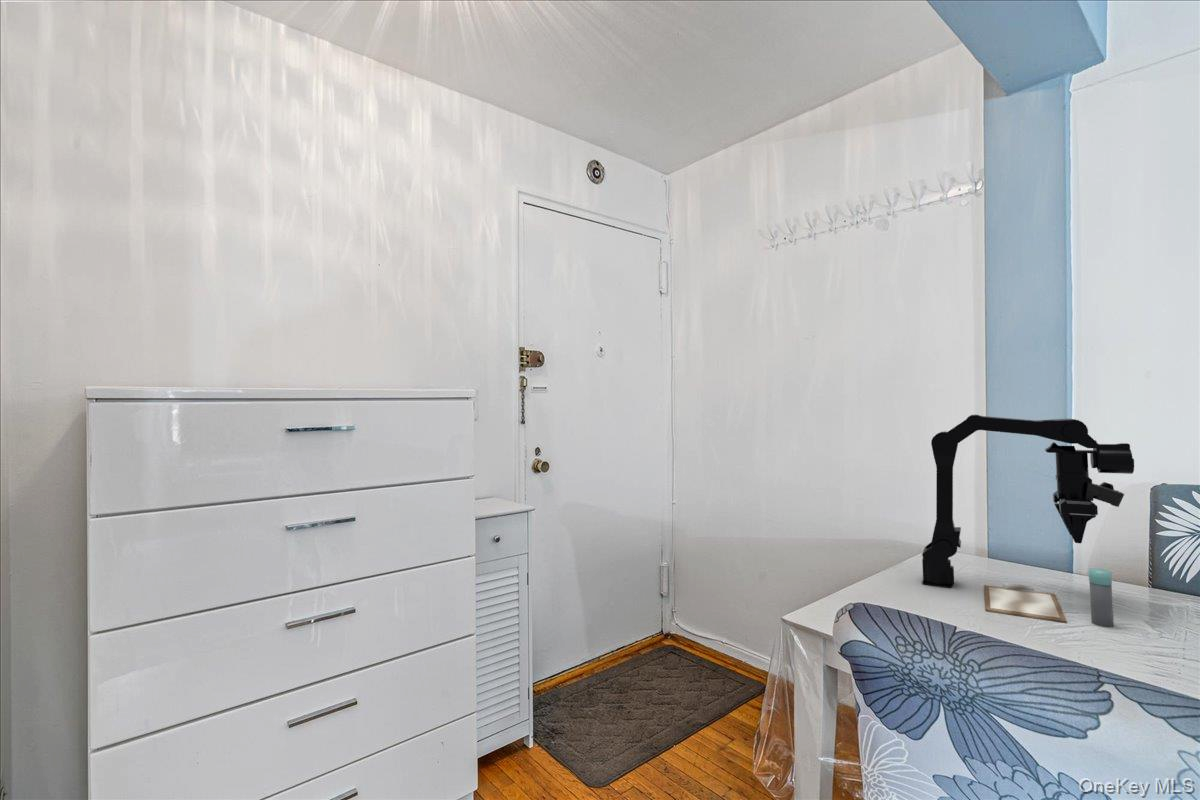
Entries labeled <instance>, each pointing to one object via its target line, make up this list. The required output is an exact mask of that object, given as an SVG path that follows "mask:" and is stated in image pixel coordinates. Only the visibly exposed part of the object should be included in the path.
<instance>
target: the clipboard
mask: <svg viewBox="0 0 1200 800" xmlns="http://www.w3.org/2000/svg"><path fill="white" fill-rule="evenodd" d="M1002 586H1003V587H1002ZM1002 586H997V585H996V586H995V585H987V584H985V585H983V594H984V609H985V610H984V611H985V612H989V613H996V614H1002V615H1010V616H1016V617H1024V618H1031V619H1036V620H1037V619H1038V620H1043V621H1044V620H1045V621H1050V622H1057V623H1064V624H1067V623H1068V620H1067V618H1066V616H1065V614H1064V612H1063V609H1062V607H1061V605H1060V602H1059V600H1058V597H1057V596H1056V594H1055V593H1051V592H1044V591H1042V592H1041V591H1036V590H1035V587H1034V586H1031V585H1023V584H1016V583H1015V584H1014V583H1008V582H1003V583H1002Z"/></svg>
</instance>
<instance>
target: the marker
mask: <svg viewBox="0 0 1200 800" xmlns="http://www.w3.org/2000/svg"><path fill="white" fill-rule="evenodd" d="M1087 570H1088V581H1089V597H1090V598H1089V600H1090V618H1091V624H1094V625H1096V626H1099V627H1104V628H1105V627H1106V628H1113V627H1114V625H1115V624H1114V604H1113V587H1112V585H1113V583H1112V582H1113V581H1112V579H1113V578H1112V571H1110V570H1108V569H1104V568H1103V569H1102V568H1096V567H1095V568H1094V567H1093V568H1088V569H1087Z"/></svg>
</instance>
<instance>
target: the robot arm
mask: <svg viewBox="0 0 1200 800" xmlns="http://www.w3.org/2000/svg"><path fill="white" fill-rule="evenodd" d="M977 431H988V432H996V433H997V432H998V433H1009V434H1018V435H1028V436H1037V437H1041V438H1045V439H1049V440H1053V441H1057V442H1060V443H1061V442H1062V443H1065V444H1073V445H1058V444H1057V443H1056V442H1052V443H1051V444H1050V445H1049V446H1048V447H1047V448H1045V449H1044V451H1045V452H1046V453H1049V454H1050V453H1052V454H1053V453H1054V454H1055V470H1056V474H1055V480H1056V488H1057V489H1056V491H1055V492H1054V493H1052V502H1053V503H1054V506H1055V508H1056V511H1057V512H1058V514H1059V516H1060V518H1061V520H1062V522H1063V523H1064V525H1065V528H1066V530H1067V532H1068V533H1069V535H1070V536H1071V537H1072V539H1073V542H1074V543H1075V544H1082V543H1083V538H1084V535H1085V530H1086V527H1087V523H1088V522H1089V521H1091V520H1093V519H1095V518H1096V517H1097V516H1098V515H1099V512H1098V509H1099V508H1098V505H1097V504H1095V503H1094V499H1095V500H1097V501H1102V502H1103V503H1106V504H1110V505H1111V506H1114V507H1116V508H1119V507H1120V505H1121V502H1122V500H1123V498H1124V496H1125V493H1123V492H1122V491H1119V490H1116V489H1115V487H1114V485H1113V484H1112V483H1109V482H1105V481H1103V482H1102V483H1100V484H1097V483H1093V479H1091V478H1090V475H1089V474H1090V473H1089V462H1090V466H1091V469H1097V472H1098V473H1099V474H1122V475H1123V474H1126V475H1127V474H1128V475H1131V474H1134V472H1135V459H1134V457H1133V453H1132V451H1131V444H1130V443H1127V442H1125V443H1123V442H1121V443H1119V442H1118V443H1098V442H1097V440H1096V439H1094V438H1093V437H1092V436H1091V435H1090V434H1089V429H1088V426H1087V425H1086V424H1085V423H1084V422H1082V421H1081V420H1079V419H1076V418H1075V419H1074V418H1055V419H1054V418H1052V419H1051V418H1050V419H1038V420H1034V419H1033V420H1032V419H1024V418H1023V419H1020V418H1011V417H1000V416H999V417H997V416H987V415H986V416H985V415H979V414H970V415H968V417H967V418H966V419H964V420H963V421H962V422H960V423H959V424H957V425H955V426H954V427H952V428H951V429H950V430H948V431H945V430H944V431H940V432H938V433H936V434H935V435H934V436H933V437H931V438H932V439H931V442H930V443H931V450H932V454H933V460H934V462H935V467H936V480H935V481H936V498H935V499H936V503H935V504H936V513H935V514H936V516H935V517H936V518H935V519H936V520H935V523H934V529H933V532H932V538H931V542H929V543H928V544H927V545H925V547H924V548H923V552H922V554H921V557H922V581H921V582H922V583H921V584H922V585H924V586H925V585H926V586H931V587H932V586H933V587H940V588H948V589H952V588H953V585H954V584H955V569H954V568H955V567H954V566H953V565H952V561H951V559H949V558H952V557H953V556H955V555H956V554H957V552H958V548H961V547H962V540H961V538H960V536H961V531H962V527H961V526H955V523H954V464H955V461H956V456H957V450H958V446H959V444H960V442H962V441H964V440H965V439H967V438H968V437H970V436H971V435H972V434H974V433H976V432H977ZM1075 444H1077V445H1079V446H1080V447H1081V446H1082V447H1084V448H1087V449H1076V447H1075ZM1088 454H1090V455H1088ZM1089 456H1090V459H1089V458H1088V457H1089ZM1089 460H1090V461H1089Z"/></svg>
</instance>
